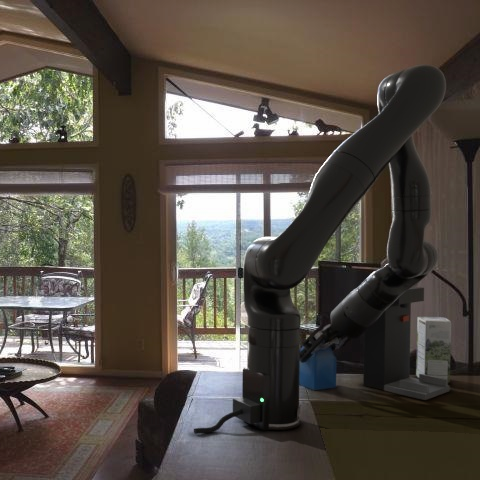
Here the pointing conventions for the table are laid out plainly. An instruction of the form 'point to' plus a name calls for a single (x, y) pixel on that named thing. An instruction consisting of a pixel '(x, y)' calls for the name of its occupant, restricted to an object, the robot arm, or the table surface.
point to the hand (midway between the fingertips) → (311, 356)
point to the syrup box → (433, 347)
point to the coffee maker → (397, 353)
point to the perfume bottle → (318, 369)
